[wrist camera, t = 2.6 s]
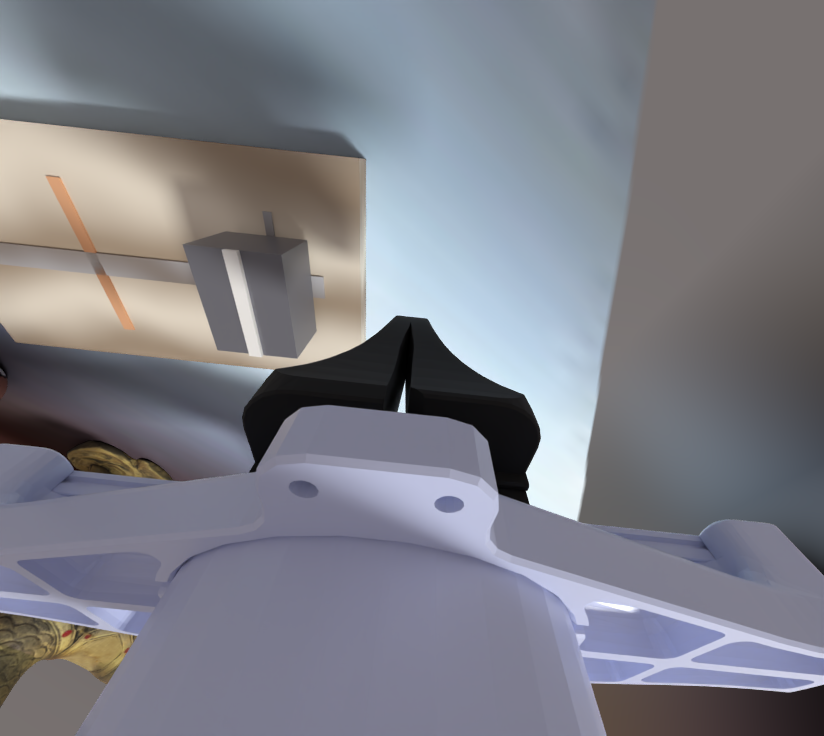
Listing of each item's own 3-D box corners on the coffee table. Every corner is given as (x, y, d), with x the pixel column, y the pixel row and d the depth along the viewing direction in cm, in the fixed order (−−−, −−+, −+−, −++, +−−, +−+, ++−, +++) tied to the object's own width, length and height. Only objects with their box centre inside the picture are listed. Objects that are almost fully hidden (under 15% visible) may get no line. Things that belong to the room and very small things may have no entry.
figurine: (136, 426, 26) (-410, 901, 9) (291, 556, 39) (184, 853, 22) (41, 453, 29) (-501, 848, 12) (215, 566, 42) (69, 833, 25)
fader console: (365, 366, 21) (361, 379, 19) (40, 332, 21) (13, 343, 19) (365, 159, 14) (358, 158, 13) (-117, 106, 14) (-174, 100, 13)
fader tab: (316, 331, 17) (295, 360, 14) (248, 324, 17) (215, 352, 14) (307, 240, 14) (279, 256, 12) (225, 231, 14) (179, 245, 12)
